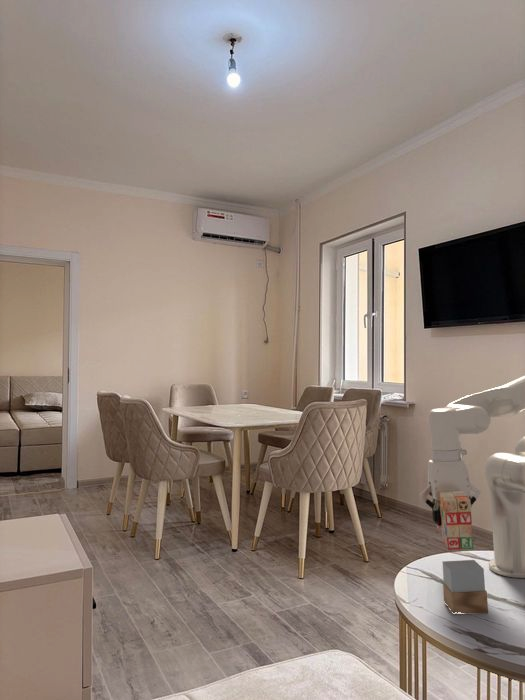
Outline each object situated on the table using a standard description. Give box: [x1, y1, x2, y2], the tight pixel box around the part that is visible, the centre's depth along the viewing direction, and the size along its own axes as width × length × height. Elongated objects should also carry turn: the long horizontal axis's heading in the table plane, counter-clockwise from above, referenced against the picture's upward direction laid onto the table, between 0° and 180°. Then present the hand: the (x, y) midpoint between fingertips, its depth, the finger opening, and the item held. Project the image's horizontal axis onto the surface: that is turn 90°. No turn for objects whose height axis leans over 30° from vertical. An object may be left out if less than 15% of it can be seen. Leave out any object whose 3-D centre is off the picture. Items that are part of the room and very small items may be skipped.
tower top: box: [442, 559, 486, 592], centre depth 124 cm, size 8×6×5 cm
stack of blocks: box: [431, 491, 474, 551], centre depth 139 cm, size 21×6×12 cm, turn 170°
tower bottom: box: [442, 582, 489, 614], centre depth 123 cm, size 8×6×5 cm
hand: (452, 522), depth 139 cm, fingers closed on stack of blocks, 6 cm apart
